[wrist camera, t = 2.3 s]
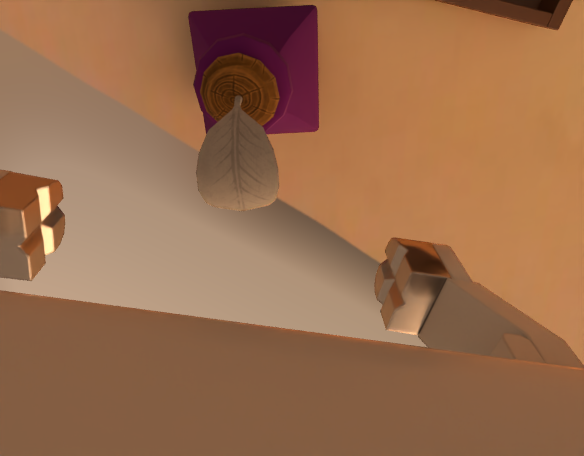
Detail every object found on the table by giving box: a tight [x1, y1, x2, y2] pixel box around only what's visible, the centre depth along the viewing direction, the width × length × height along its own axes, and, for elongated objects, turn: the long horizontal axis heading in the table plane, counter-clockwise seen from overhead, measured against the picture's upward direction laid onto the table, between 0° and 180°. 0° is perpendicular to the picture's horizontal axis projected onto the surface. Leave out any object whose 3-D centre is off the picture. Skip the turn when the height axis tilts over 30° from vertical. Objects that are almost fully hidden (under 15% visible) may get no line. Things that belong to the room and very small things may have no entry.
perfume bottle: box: [188, 5, 319, 211], centre depth 22 cm, size 8×8×18 cm
